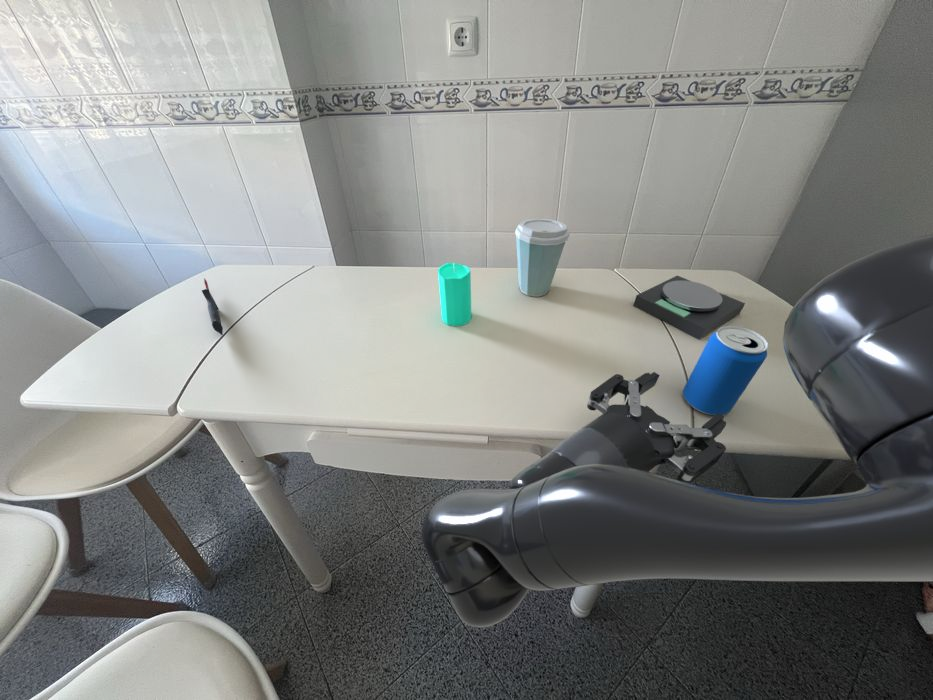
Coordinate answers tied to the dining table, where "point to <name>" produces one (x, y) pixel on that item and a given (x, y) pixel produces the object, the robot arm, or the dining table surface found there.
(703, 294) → the scale pan
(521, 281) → the disposable coffee cup
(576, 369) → the dining table surface
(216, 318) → the knife
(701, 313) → the scale
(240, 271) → the dining table surface
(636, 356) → the dining table surface
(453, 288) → the candle
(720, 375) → the beverage can
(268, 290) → the dining table surface
